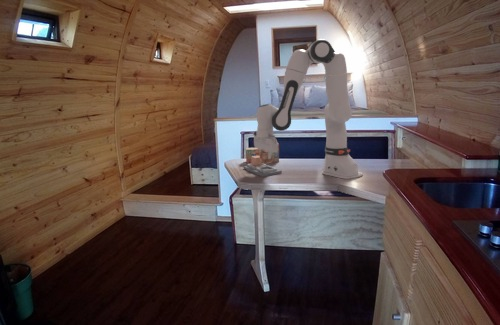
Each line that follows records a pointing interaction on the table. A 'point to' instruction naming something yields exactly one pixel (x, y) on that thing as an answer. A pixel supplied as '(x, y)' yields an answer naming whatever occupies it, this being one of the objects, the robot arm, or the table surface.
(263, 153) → the terracotta block
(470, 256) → the table surface
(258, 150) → the stack of blocks
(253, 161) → the assembly plate
